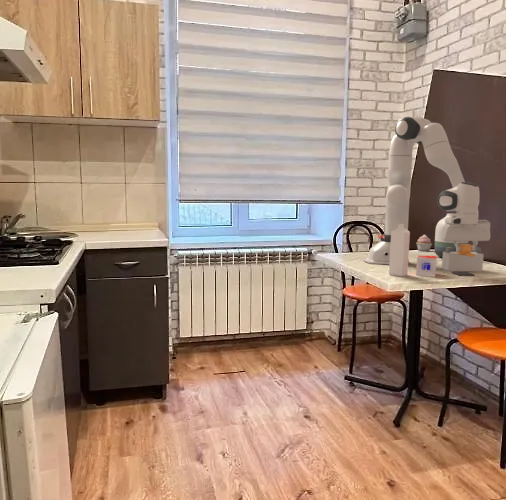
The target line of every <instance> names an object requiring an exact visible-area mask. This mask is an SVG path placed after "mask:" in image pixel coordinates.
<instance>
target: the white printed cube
mask: <svg viewBox="0 0 506 500" xmlns="http://www.w3.org/2000/svg"><path fill="white" fill-rule="evenodd" d="M437 257H438V256H437V255H424V254H418V255H417V257H416V269H415V270H416V271H415V275H416V276H422V277H436V274H437Z"/></svg>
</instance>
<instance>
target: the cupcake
mask: <svg viewBox="0 0 506 500" xmlns="http://www.w3.org/2000/svg"><path fill="white" fill-rule="evenodd" d="M415 244H416V246H417V251H419V252H424V251H427V252H430V251H431V247H432V245H433V243H432V242H431V238H429V237H428V236H427V235H426V234H423V235H421V236H419V238H418V239H417V242H415Z"/></svg>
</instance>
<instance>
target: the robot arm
mask: <svg viewBox="0 0 506 500" xmlns="http://www.w3.org/2000/svg"><path fill="white" fill-rule="evenodd" d="M394 133H395V134H394V135H393V137H392V138H391V141H390V146H389V150H388V151H389V153H388V168H387V169H388V171H387V191H386V194H385V223H384V233H383V234H381V233H380V234H378V235H377V237H378V238H379V239H380V241H379V242H377V243H375V244H374V245H373V246H372V247H371V248H370V249H369V251H368V254H367V255H368V256H367V257H364V258H363V262H365V263H368V264H372V265H374V264H375V265H389V263H390V245H391V231H393V230H395V229H397V228H398V225H399V224H404V228H405V229H407V230H408V229H409V216H410V215H409V213H410V212H409V211H410V198H411V186H412V185H411V184H412V167H413V165H412V164H413V150H414V146H415V145H416V144H417V145H421V144H422V146H423V150H424V151H423V152H424V155H425V158H426V159H427V162H428V164H430V165H432V166H433V167H435V168H438V169H440V170H442V171H443V172H444V173H446V175H447V176H448V178H449V181H450V183H451V187H452V188H450V189H449V188H448V189H445V190H442V191H441V192H440V193H439V195H437V206H438V208H439V209H440V210H441V211H444V212H456V214H457V215H455V216H453V217H449V218H446V219H445V223H447V224H445V225H444V227H443V232H442V239H443V240H445V241H454V244H455V246H456V251H461V247H459V245H458V243H459V241H468V242H472V244H471V245H472V248H471V252H476V250H475V248H477V247H478V244H479V242H488V241H490V239H491V222H490V221H489V220H488V219H479V213H480V212H479V208H478V207H479V205H480V187H479V185H478V184H477V183H474V182H468V181H467V180H466V178H465V174H464V172H463V170H462V167H461V165H460V163H459V161H458V159H457V158H456V157H455V155H454V152H453V150H452V148H451V145H450V141H449V138H448V136H447V132H446V130H445V129H444V127H443V125H442V124H441V123H439V122H434V121H433V120H431V119H429V118H424V117H419V116H417V117H415V116H413V117H411V116H404V117H401V118H400V119H398V120H397V122H396V123H395V126H394ZM408 231H409V230H408ZM408 264H410V259H409V258H408Z"/></svg>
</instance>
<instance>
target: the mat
mask: <svg viewBox="0 0 506 500" xmlns="http://www.w3.org/2000/svg"><path fill="white" fill-rule="evenodd" d="M451 273H452V274H453V275H456V276H459V277H462V276H463V277H475V274H474V273H472V272H470V271H451Z"/></svg>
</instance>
